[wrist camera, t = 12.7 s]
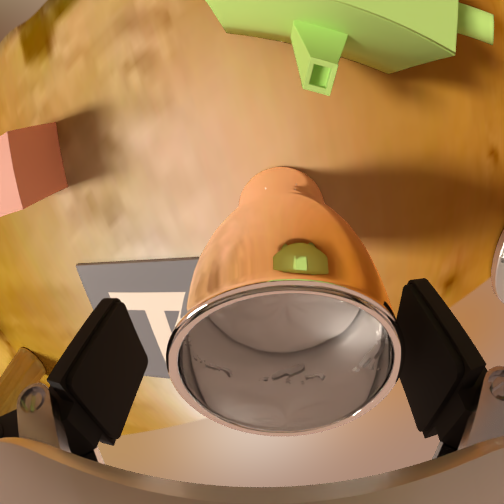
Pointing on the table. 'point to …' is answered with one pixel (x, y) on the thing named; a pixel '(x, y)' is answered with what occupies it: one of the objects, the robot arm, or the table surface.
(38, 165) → the block
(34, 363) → the vase
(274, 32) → the kettle
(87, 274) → the board
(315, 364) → the beer glass
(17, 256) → the table surface
